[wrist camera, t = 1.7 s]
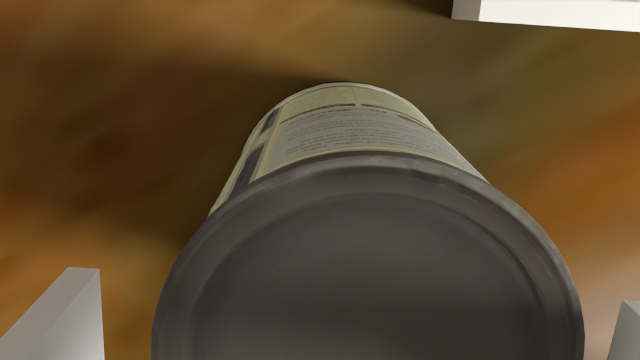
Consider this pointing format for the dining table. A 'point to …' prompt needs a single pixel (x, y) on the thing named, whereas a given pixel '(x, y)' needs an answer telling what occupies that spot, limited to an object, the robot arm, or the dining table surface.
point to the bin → (554, 13)
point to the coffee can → (364, 249)
